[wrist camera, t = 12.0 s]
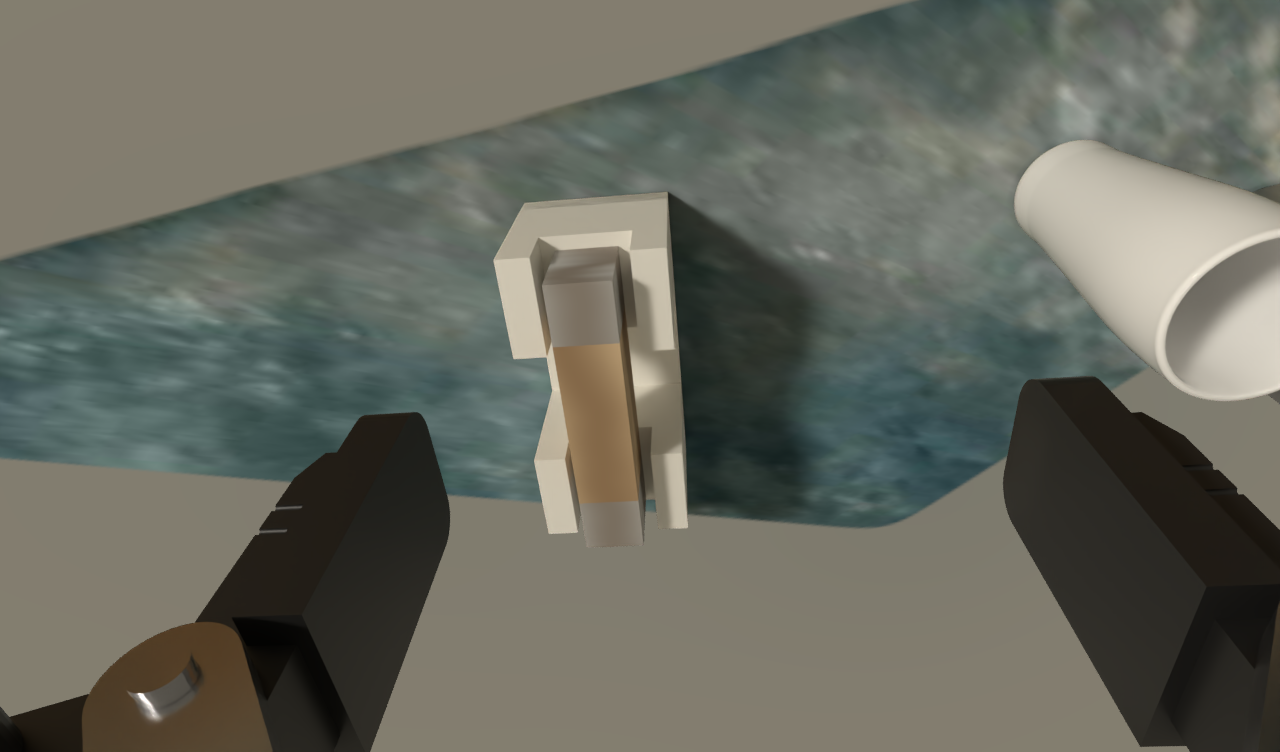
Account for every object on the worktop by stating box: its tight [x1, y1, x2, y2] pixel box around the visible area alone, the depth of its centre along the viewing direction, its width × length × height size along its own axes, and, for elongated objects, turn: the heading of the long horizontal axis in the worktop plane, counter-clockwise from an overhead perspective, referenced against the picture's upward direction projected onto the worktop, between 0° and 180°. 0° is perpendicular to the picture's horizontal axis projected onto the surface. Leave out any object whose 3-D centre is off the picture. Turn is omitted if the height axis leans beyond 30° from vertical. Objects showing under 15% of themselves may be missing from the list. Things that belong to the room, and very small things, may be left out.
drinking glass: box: [1014, 140, 1280, 401], centre depth 32 cm, size 7×7×15 cm
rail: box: [542, 246, 646, 548], centre depth 37 cm, size 3×15×4 cm, turn 5°
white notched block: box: [494, 192, 688, 534], centre depth 40 cm, size 8×16×8 cm, turn 5°
